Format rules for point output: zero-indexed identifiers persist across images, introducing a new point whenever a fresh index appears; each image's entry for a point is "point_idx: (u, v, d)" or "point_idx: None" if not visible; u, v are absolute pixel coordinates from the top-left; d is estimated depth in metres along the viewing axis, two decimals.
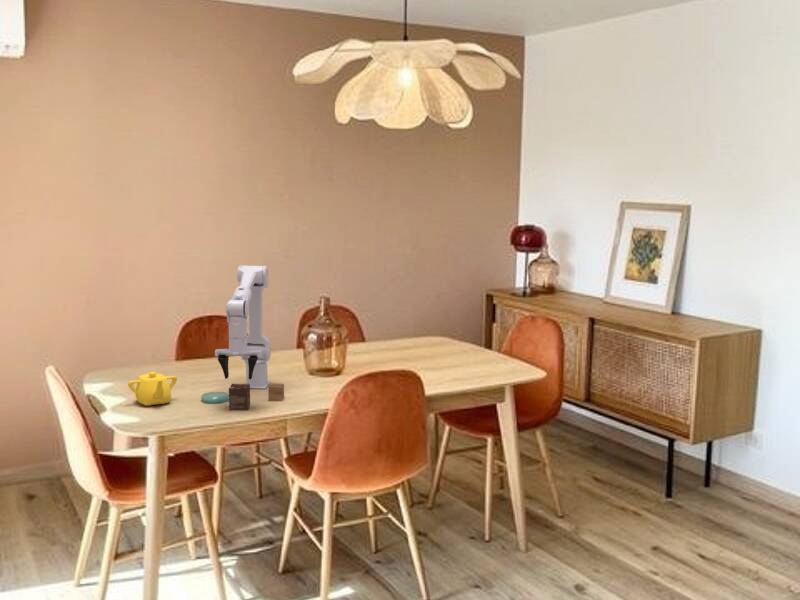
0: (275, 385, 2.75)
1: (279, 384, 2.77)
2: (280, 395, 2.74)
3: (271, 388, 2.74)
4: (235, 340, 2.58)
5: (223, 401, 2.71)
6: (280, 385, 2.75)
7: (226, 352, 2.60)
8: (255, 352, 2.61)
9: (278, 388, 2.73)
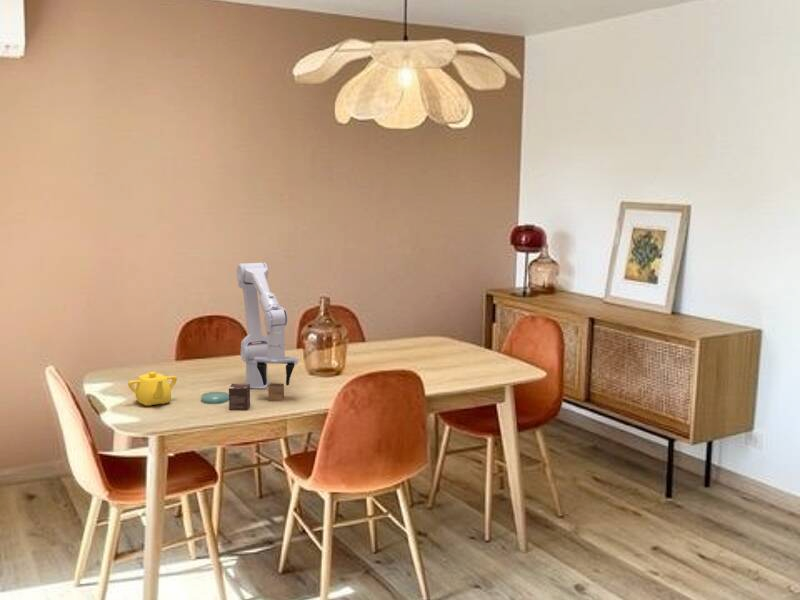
0: (275, 385, 2.75)
1: (279, 384, 2.77)
2: (280, 395, 2.74)
3: (271, 388, 2.74)
4: (273, 348, 2.71)
5: (223, 401, 2.71)
6: (280, 385, 2.75)
7: (265, 360, 2.72)
8: (292, 359, 2.73)
9: (278, 388, 2.73)
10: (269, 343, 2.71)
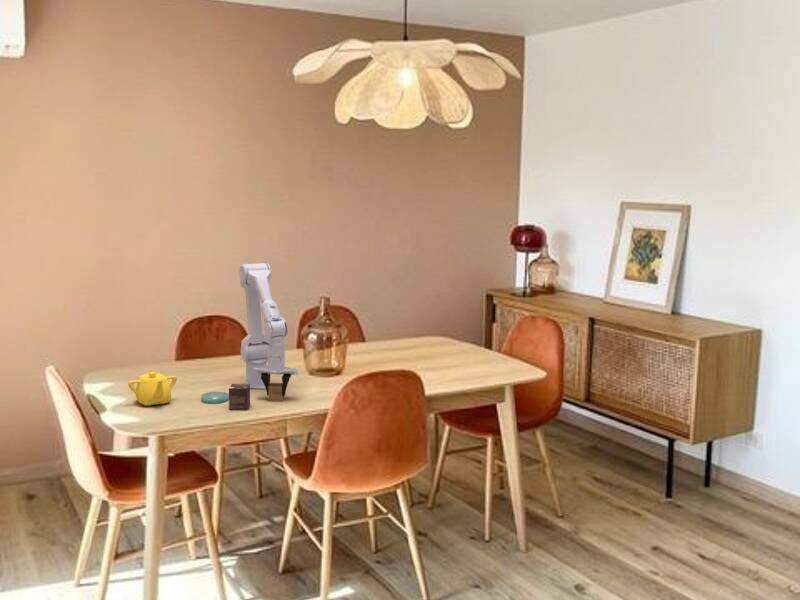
0: (275, 385, 2.75)
1: (279, 384, 2.77)
2: (280, 395, 2.74)
3: (271, 388, 2.74)
4: (274, 359, 2.71)
5: (223, 401, 2.71)
6: (280, 385, 2.75)
7: (265, 370, 2.73)
8: (292, 370, 2.74)
9: (278, 387, 2.73)
10: (269, 354, 2.72)
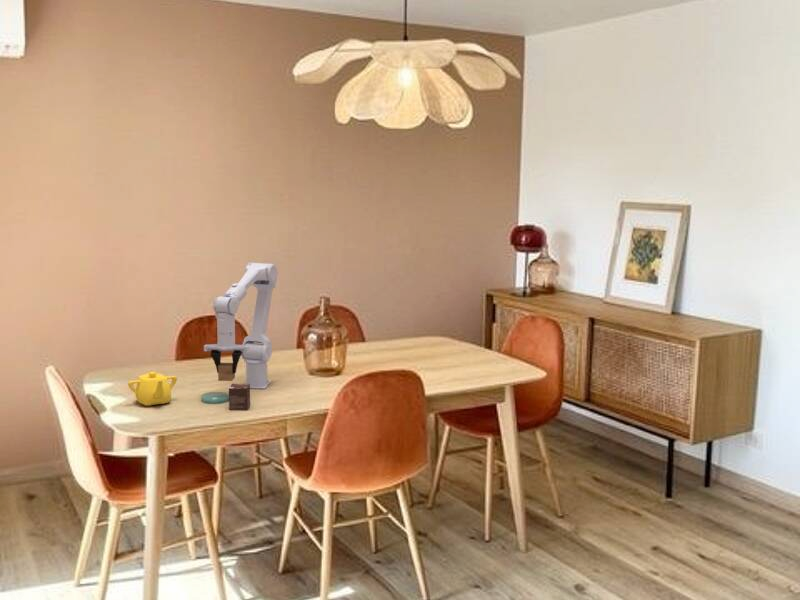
0: (225, 364, 2.72)
1: (229, 363, 2.73)
2: (230, 374, 2.70)
3: (221, 367, 2.70)
4: (223, 336, 2.68)
5: (223, 401, 2.71)
6: (230, 364, 2.72)
7: (215, 347, 2.70)
8: (243, 347, 2.70)
9: (228, 367, 2.70)
10: None
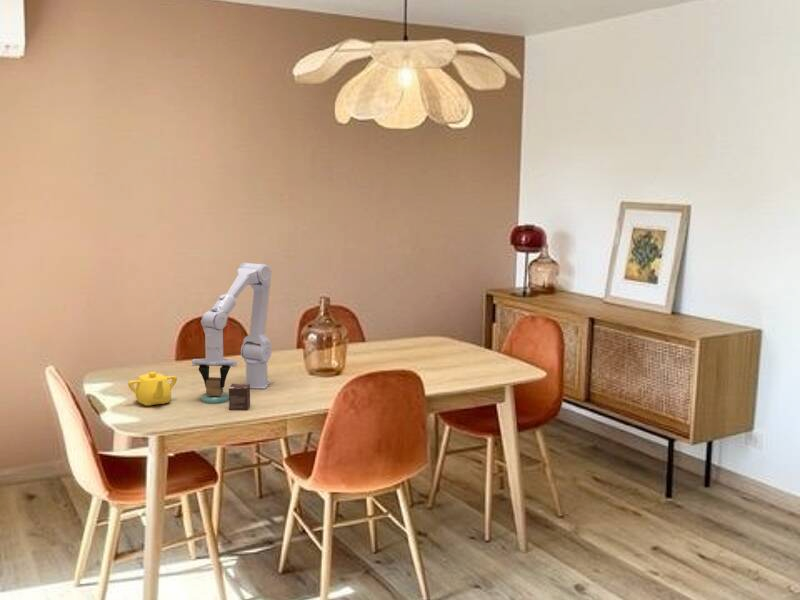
0: (213, 379, 2.72)
1: (217, 378, 2.73)
2: (218, 389, 2.71)
3: (209, 382, 2.70)
4: (211, 350, 2.69)
5: (223, 401, 2.71)
6: (218, 379, 2.72)
7: (203, 362, 2.70)
8: (231, 362, 2.71)
9: (216, 382, 2.70)
10: None
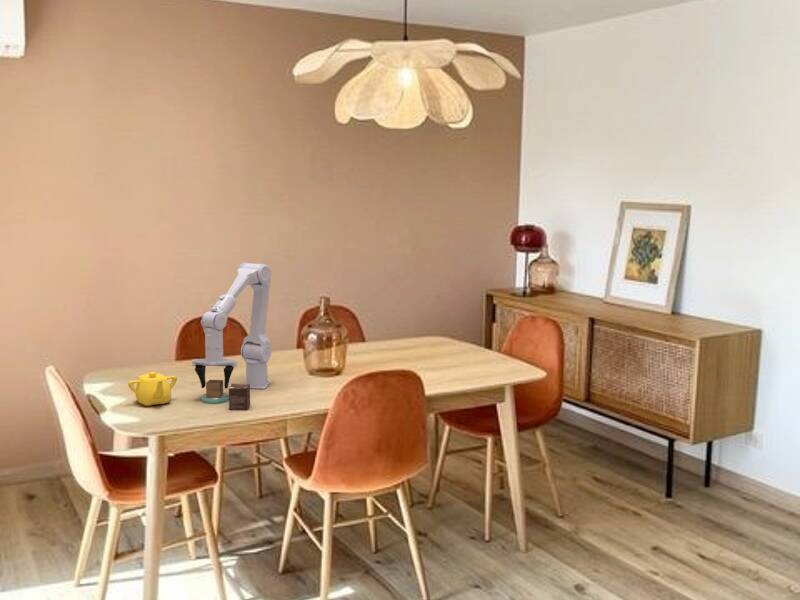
0: (213, 381, 2.72)
1: (218, 380, 2.74)
2: (218, 392, 2.71)
3: (209, 384, 2.71)
4: (211, 351, 2.69)
5: (223, 402, 2.71)
6: (218, 381, 2.72)
7: (203, 362, 2.70)
8: (231, 362, 2.71)
9: (216, 384, 2.70)
10: None
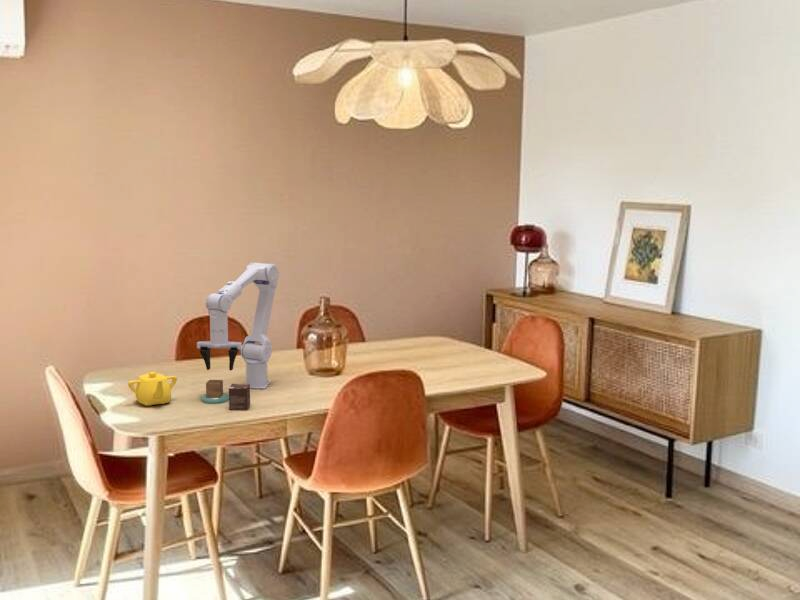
0: (213, 381, 2.72)
1: (217, 381, 2.73)
2: (218, 392, 2.71)
3: (209, 385, 2.71)
4: (216, 333, 2.69)
5: (223, 401, 2.71)
6: (218, 382, 2.72)
7: (207, 344, 2.70)
8: (235, 344, 2.71)
9: (216, 384, 2.70)
10: None
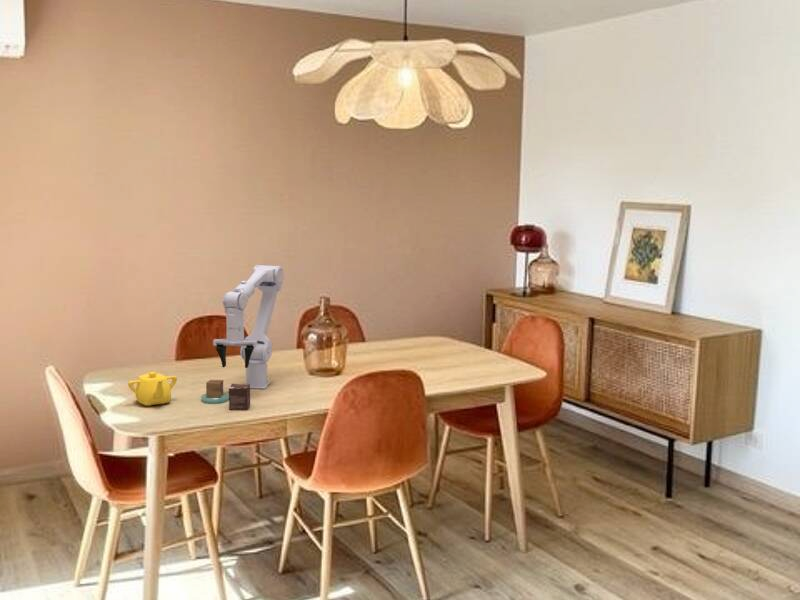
0: (213, 381, 2.72)
1: (218, 380, 2.74)
2: (218, 392, 2.71)
3: (209, 384, 2.71)
4: (232, 330, 2.72)
5: (223, 402, 2.71)
6: (218, 381, 2.72)
7: (224, 342, 2.74)
8: (251, 342, 2.74)
9: (216, 384, 2.71)
10: None
